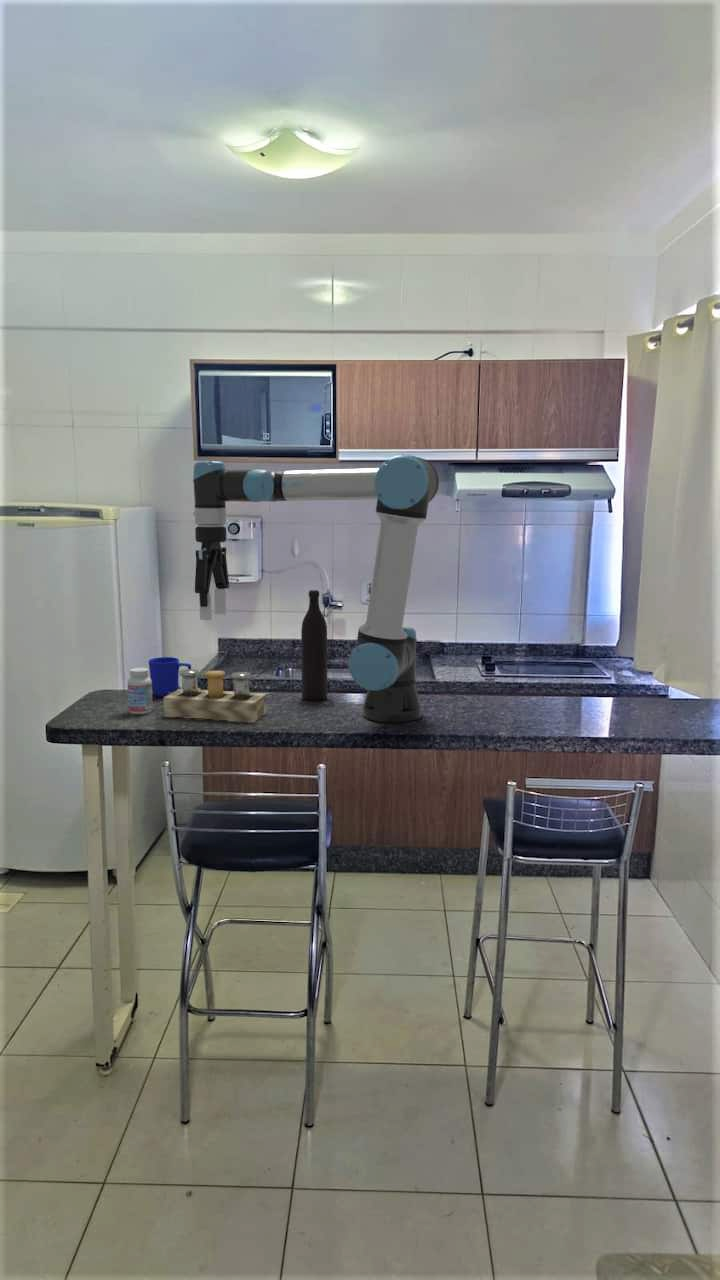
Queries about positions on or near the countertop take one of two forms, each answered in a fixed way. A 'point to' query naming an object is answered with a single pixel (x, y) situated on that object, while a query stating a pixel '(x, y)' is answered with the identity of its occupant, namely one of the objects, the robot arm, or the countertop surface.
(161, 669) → the mug
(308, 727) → the countertop surface
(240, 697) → the glass spice jar
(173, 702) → the wooden spice rack
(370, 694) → the robot arm
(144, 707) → the pill bottle
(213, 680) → the tan cylinder
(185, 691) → the salt shaker
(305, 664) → the wine bottle
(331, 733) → the countertop surface
